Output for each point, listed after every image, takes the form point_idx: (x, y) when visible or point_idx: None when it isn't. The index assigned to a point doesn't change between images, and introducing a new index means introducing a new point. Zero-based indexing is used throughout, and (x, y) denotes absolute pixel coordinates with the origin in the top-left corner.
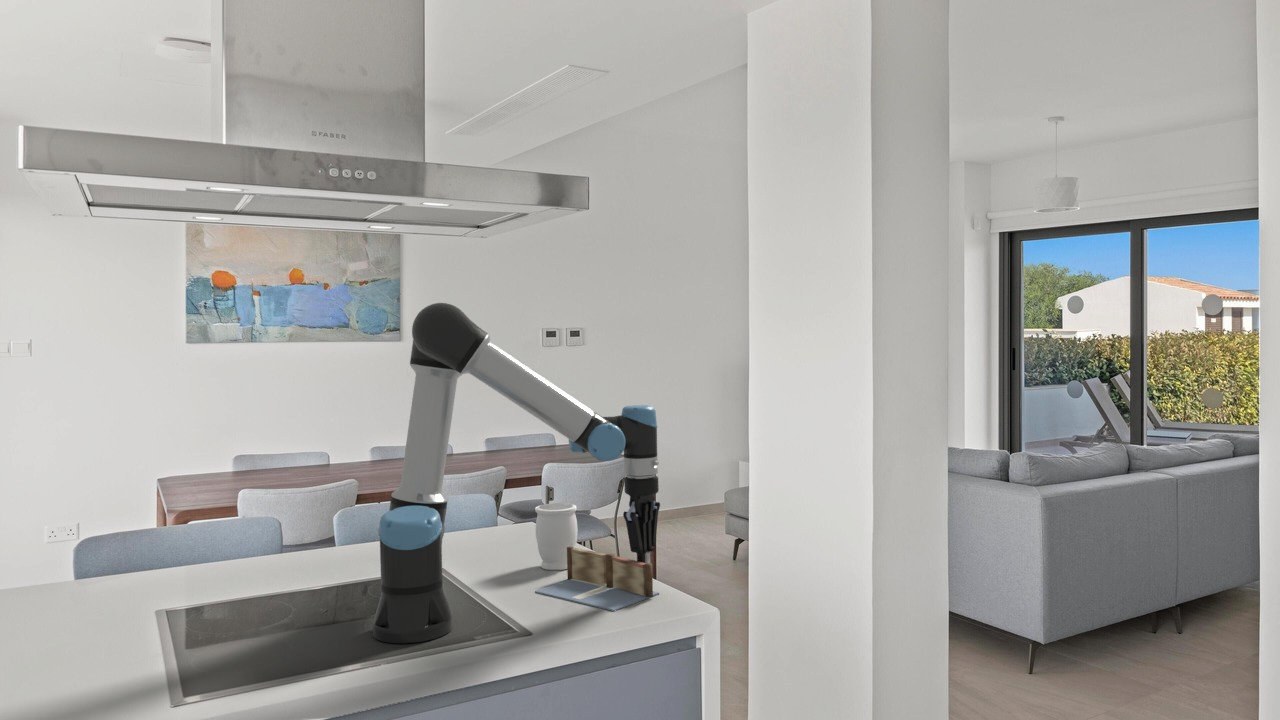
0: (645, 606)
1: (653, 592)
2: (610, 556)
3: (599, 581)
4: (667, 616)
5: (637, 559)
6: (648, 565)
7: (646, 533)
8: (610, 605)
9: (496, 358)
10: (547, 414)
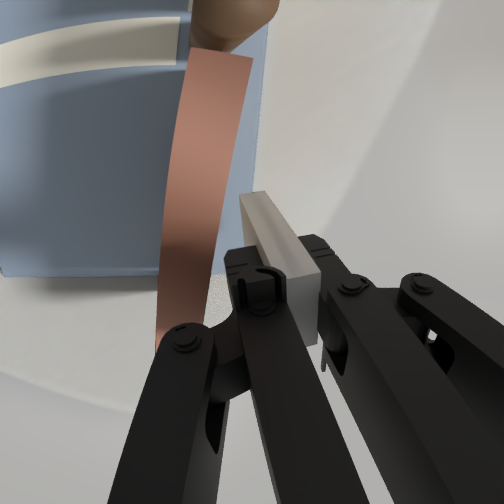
0: (104, 315)
1: None
2: (204, 21)
3: None
4: (96, 389)
5: (229, 284)
6: None
7: (376, 446)
8: (16, 236)
9: None
10: None
